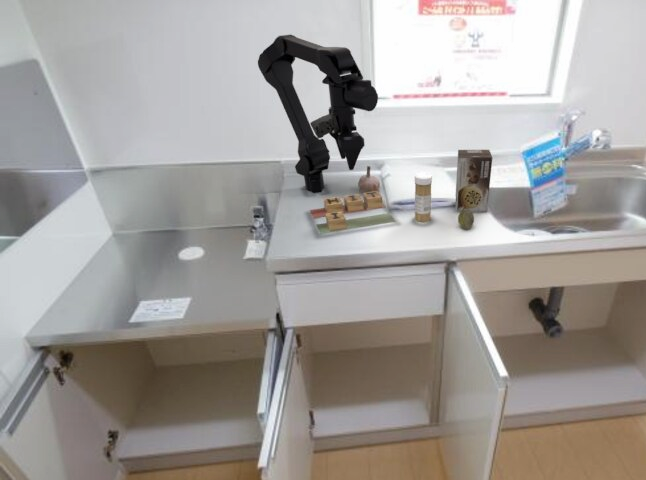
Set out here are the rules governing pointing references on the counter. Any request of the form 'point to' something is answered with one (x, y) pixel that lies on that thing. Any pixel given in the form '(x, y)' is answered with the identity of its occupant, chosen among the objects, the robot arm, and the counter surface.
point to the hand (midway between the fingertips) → (347, 164)
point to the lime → (466, 219)
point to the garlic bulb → (368, 182)
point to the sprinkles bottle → (423, 196)
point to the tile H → (333, 205)
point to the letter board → (353, 222)
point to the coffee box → (473, 180)
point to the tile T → (373, 199)
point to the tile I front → (336, 221)
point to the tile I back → (353, 202)
